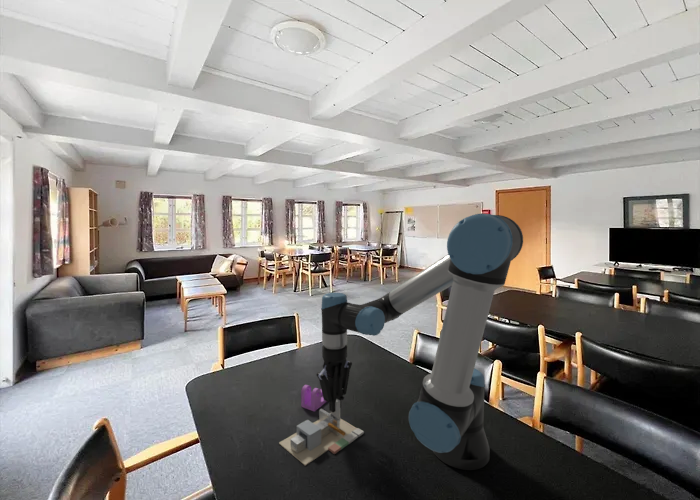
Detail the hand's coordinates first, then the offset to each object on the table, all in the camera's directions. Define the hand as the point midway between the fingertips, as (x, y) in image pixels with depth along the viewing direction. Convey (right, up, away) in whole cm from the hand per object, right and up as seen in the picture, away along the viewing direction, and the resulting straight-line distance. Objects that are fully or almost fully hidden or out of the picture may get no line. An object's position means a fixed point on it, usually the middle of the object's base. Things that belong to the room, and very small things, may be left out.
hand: (335, 419), depth 97 cm
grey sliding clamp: (-5, -3, -7) cm, 9 cm away
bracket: (-6, -2, +15) cm, 17 cm away
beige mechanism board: (-4, -3, -5) cm, 7 cm away
